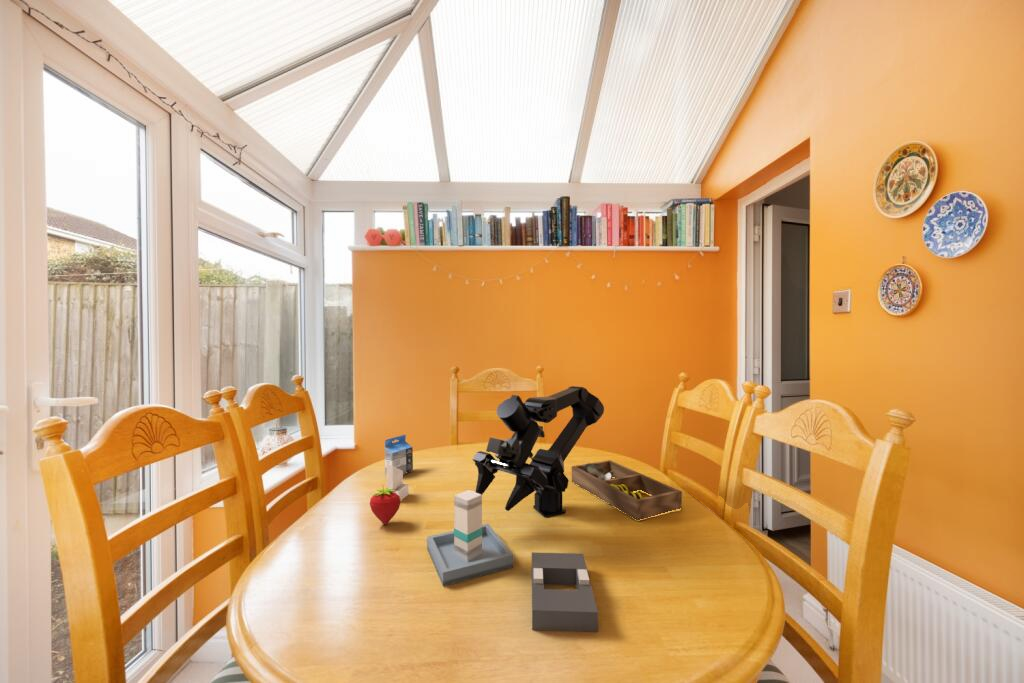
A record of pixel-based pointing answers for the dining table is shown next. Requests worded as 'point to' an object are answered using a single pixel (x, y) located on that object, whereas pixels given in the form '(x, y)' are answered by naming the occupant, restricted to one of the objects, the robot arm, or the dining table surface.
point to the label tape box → (398, 454)
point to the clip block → (562, 594)
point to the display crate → (639, 509)
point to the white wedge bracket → (397, 481)
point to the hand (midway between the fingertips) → (490, 504)
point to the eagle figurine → (597, 472)
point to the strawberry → (385, 504)
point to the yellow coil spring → (625, 489)
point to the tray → (459, 570)
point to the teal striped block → (467, 525)
